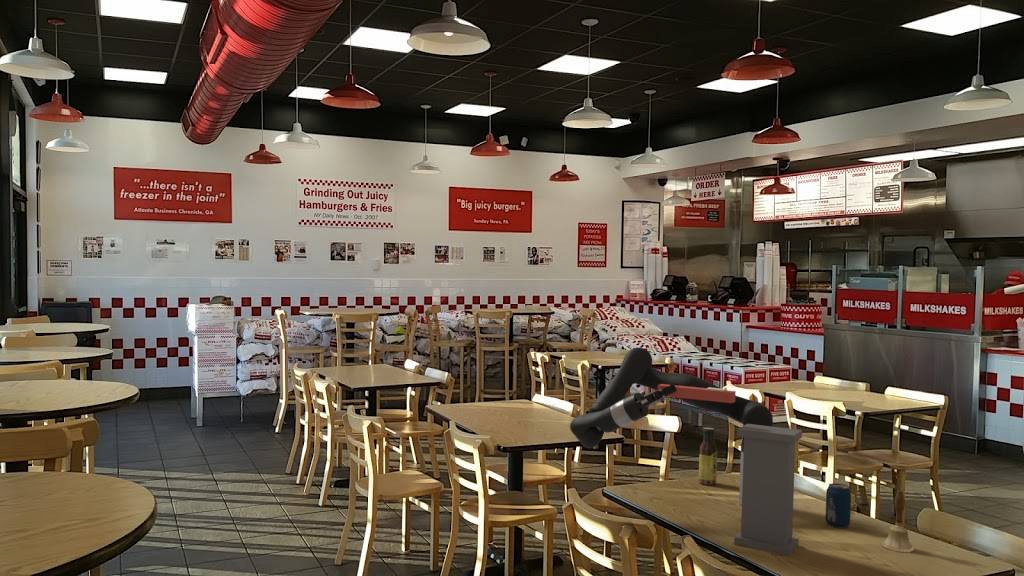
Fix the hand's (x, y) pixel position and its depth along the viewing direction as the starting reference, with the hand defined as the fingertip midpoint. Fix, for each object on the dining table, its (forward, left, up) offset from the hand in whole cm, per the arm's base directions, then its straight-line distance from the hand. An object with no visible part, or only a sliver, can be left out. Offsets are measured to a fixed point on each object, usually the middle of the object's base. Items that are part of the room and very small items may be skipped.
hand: (677, 386), depth 237 cm
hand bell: (-55, +27, -42) cm, 74 cm away
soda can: (-51, +6, -42) cm, 66 cm away
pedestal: (-19, +19, -41) cm, 49 cm away
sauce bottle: (-35, -46, -42) cm, 71 cm away
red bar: (-4, +4, -3) cm, 6 cm away
